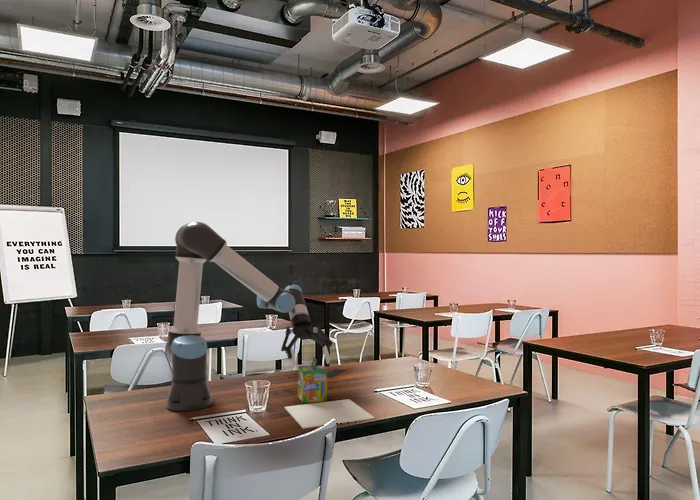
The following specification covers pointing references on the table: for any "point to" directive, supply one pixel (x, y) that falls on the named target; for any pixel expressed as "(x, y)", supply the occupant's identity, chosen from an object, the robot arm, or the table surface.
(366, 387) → the table surface
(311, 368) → the chalk box
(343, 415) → the mat
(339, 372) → the smartphone
